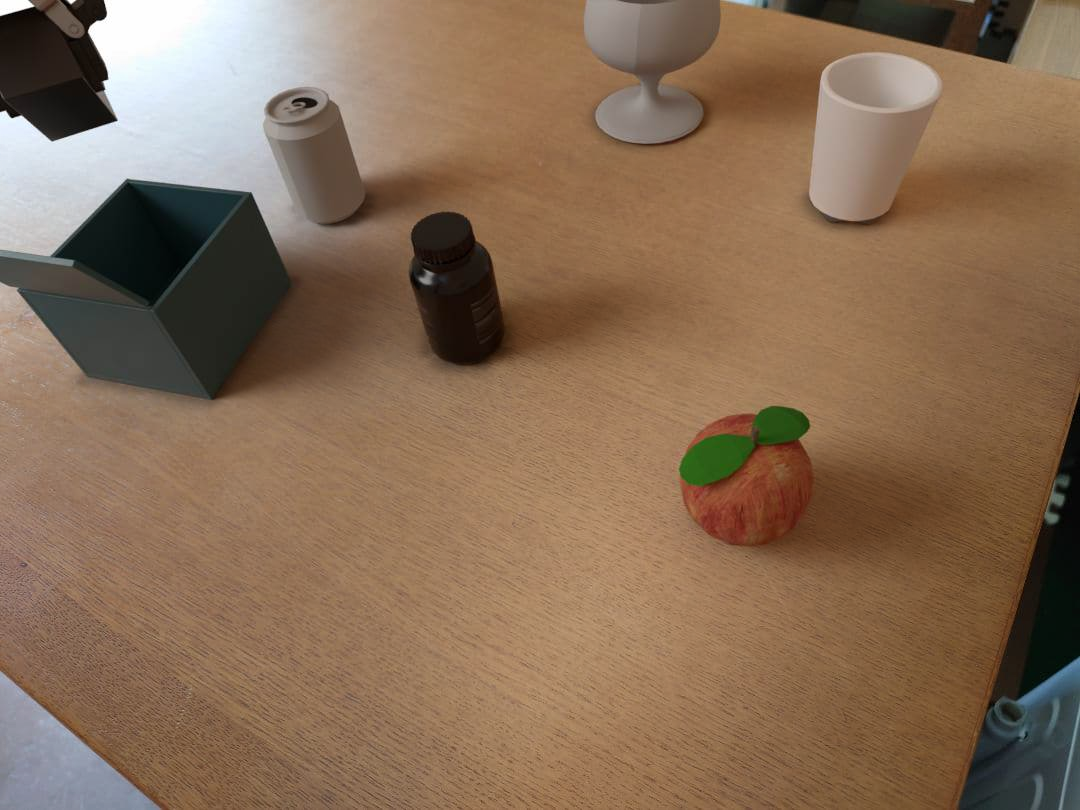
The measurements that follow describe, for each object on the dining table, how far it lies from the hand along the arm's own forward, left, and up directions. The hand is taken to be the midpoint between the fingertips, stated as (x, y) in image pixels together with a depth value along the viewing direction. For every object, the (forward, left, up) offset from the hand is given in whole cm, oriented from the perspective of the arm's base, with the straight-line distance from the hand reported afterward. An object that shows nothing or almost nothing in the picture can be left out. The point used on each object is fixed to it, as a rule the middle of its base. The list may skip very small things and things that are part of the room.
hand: (58, 98), depth 54 cm
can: (+18, +10, -23) cm, 31 cm away
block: (0, +5, -2) cm, 6 cm away
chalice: (+54, +2, -23) cm, 59 cm away
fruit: (+27, -43, -23) cm, 56 cm away
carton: (0, +1, -23) cm, 23 cm away
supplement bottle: (+20, -16, -23) cm, 35 cm away
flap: (-7, -5, -9) cm, 12 cm away
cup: (+59, -23, -23) cm, 67 cm away
